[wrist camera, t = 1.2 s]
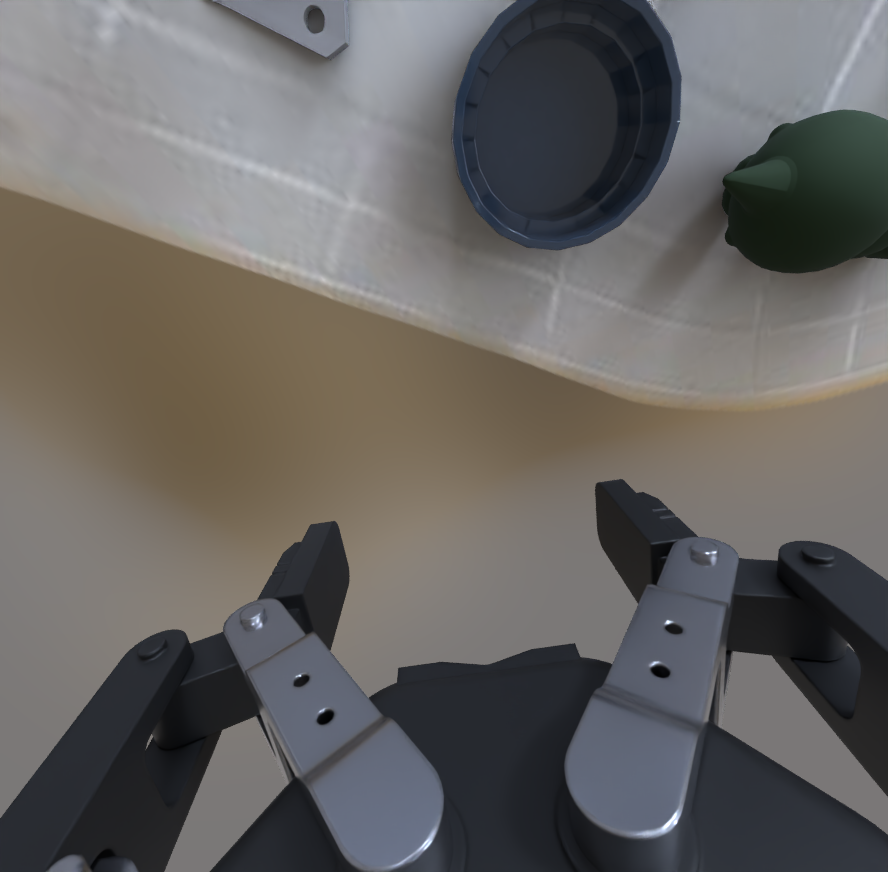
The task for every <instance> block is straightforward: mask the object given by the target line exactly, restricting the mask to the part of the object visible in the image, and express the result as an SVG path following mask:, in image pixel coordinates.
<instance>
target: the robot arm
mask: <svg viewBox="0 0 888 872" xmlns="http://www.w3.org/2000/svg"><path fill="white" fill-rule="evenodd" d="M595 488H596V489H595V495H596V513H597V531H598V536H599V540H600V543H601V546H602V548H603V550H604V551H605V553H606V554H607V556H608V558H609V559H610V561H611V562H612V564H613V565H614V567H615V569H616V570H617V572H618V573H619V575H620V576H621V578H622V579H623V581H624V583H625V584H626V586H627V587H628V589H629V590H630V592H631V593H632V595H633V596H634V598H635V600H636V601H637V603H638V606H637V609H636V611H635V613H634V615H633V618H632V620H631V623H630V625H629V627H628V629H627V632H626V634H625V636H624V638H623V641H622V643H621V646H620V648H619V650H618V653H617V655H616V657H615V659H614V662H613V664H611V663H607V662H604V661H600V660H596V659H590V658H582V657H580V655H579V653H578V650H577V648H576V645H575V643H574V644H567V645H559V646H553V647H545V648H538V649H531V650H528V651H525V652H523V653H520V654H517V655H515V656H512V657H509V658H506V659H503V660H501V661H498V662H495V663H492V664H489V665H477V664H463V663H449V662H437V663H430V664H423V665H416V666H408V667H401V668H398V678H397V683H395V684H393V685H390V686H388V687H386V688H384V689H382V690H380V691H378V692H377V693H375V694H374V695H372V696H371V697H369V698H368V697H367V696H366V695H365V693H364V692H363V691H362V690H361V688H360V687H359V686H358V685H357V683H356V682H355V681H354V680H353V679H352V677H351V676H350V675H349V674H348V672H347V671H346V670H345V669H344V668H343V666H342V665H341V664H340V663H339V661H338V660H337V659H336V658H335V656H334V655H333V654H332V653H331V652H330V650H331V647H332V643H333V640H334V636H335V632H336V629H337V625H338V622H339V618H340V615H341V611H342V607H343V604H344V600H345V597H346V593H347V589H348V586H349V566H348V562H347V558H346V554H345V550H344V546H343V542H342V538H341V534H340V530H339V527H338V524H337V523H336V522H335V521H331V522H325V523H318V524H311V525H310V526H309V528H308V530H307V532H306V534H305V536H304V538H303V540H302V542H297V543H294V544H293V545H292V546H291V547H290V548H289V549H287V550H286V551H285V552H284V553H283V554H282V556H281V558H280V560H279V562H278V563H277V566H276V567H275V569H274V571H273V572H272V575H271V576H270V578H269V580H268V581H267V583H266V585H265V587H264V589H263V590H262V592H261V594H260V596H259V598H258V599H257V600H256V601H253V602H250V603H248V604H246V605H244V606H242V607H241V608H239V609H238V610H236V611H235V612H234V613H233V614H231V616H229V618H228V619H227V620H226V622H225V624H224V627H223V632H221V633H219V634H216V635H214V636H210V637H208V638H205V639H202V640H199V641H196V642H194V643H191V644H190V643H189V640H188V638H187V635H186V633H185V632H184V631H181V630H167V631H163V632H160V633H157V634H155V635H152V636H150V637H148V638H146V639H145V640H143V641H141V642H140V643H138V644H137V645H135V646H134V647H133V648H132V649H130V650H129V651H128V652H127V653H126V654H125V656H124V657H123V658H122V659H121V661H120V662H119V663H118V665H117V666H116V667H115V669H114V670H113V671H112V673H111V674H110V675H109V676H108V678H107V679H106V680H105V682H104V683H103V684H102V686H101V687H100V688H99V690H98V691H97V692H96V694H95V695H94V696H93V698H92V699H91V700H90V702H89V703H88V704H87V705H86V707H85V708H84V709H83V711H82V712H81V713H80V715H79V716H78V717H77V719H76V720H75V721H74V722H73V724H72V725H71V726H70V728H69V729H68V730H67V732H66V733H65V734H64V736H63V737H62V738H61V739H60V741H59V742H58V744H57V745H56V746H55V747H54V749H53V750H52V751H51V753H50V754H49V756H48V757H47V758H46V759H45V761H44V762H43V763H42V764H41V766H40V767H39V768H38V770H37V771H36V772H35V774H34V775H33V776H32V778H31V779H30V780H29V781H28V783H27V784H26V785H25V787H24V788H23V789H22V791H21V792H20V794H19V795H18V796H17V797H16V799H15V800H14V801H13V803H12V804H11V805H10V806H9V808H8V809H7V810H6V812H5V813H4V814H3V816H2V817H1V818H0V872H164V871H165V868H166V866H167V864H168V861H169V859H170V856H171V854H172V851H173V849H174V847H175V844H176V842H177V839H178V837H179V834H180V832H181V830H182V827H183V825H184V822H185V820H186V817H187V815H188V813H189V810H190V807H191V805H192V803H193V800H194V798H195V795H196V793H197V791H198V788H199V786H200V783H201V781H202V778H203V776H204V774H205V771H206V769H207V766H208V764H209V761H210V759H211V757H212V754H213V751H214V749H215V747H216V744H217V741H218V740H219V737H220V735H221V732H222V730H223V729H226V728H228V727H231V726H233V725H235V724H238V723H240V722H243V721H245V720H247V719H250V718H252V717H254V716H255V717H256V720H257V722H258V724H259V726H260V728H261V731H262V732H263V735H264V737H265V739H266V741H267V743H268V745H269V747H270V750H271V752H272V754H273V756H274V758H275V760H276V762H277V764H278V767H279V768H280V771H281V773H282V775H283V778H284V780H285V782H286V785H287V786H286V787H285V788H284V789H283V790H282V792H281V793H280V794H279V795H278V796H277V797H276V798H275V799H274V800H273V802H272V803H271V804H270V805H269V806H268V807H267V808H266V809H265V810H264V812H263V813H262V814H261V815H260V816H259V817H258V818H257V819H256V821H255V822H254V823H253V824H252V825H251V826H250V827H249V828H248V829H247V831H246V832H245V833H244V834H243V835H242V836H241V837H240V838H239V839H238V841H237V842H236V843H235V844H234V845H233V846H232V847H231V849H230V850H229V851H228V852H227V853H226V854H225V855H224V856H223V857H222V858H221V860H220V861H219V862H218V863H217V864H216V866H214V867H213V869H212V870H211V871H210V872H888V835H887V834H886V833H885V832H884V831H882V830H881V829H880V828H878V827H877V826H876V825H875V824H873V823H872V822H870V821H869V820H867V819H866V818H864V817H863V816H861V815H860V814H858V813H857V812H856V811H854V810H852V809H851V808H849V807H847V806H846V805H844V804H843V803H841V802H839V801H838V800H836V799H835V798H833V797H831V796H830V795H828V794H826V793H825V792H823V791H822V790H820V789H818V788H817V787H815V786H814V785H812V784H810V783H809V782H807V781H805V780H804V779H802V778H801V777H799V776H797V775H796V774H794V773H793V772H791V771H789V770H788V769H786V768H785V767H783V766H781V765H780V764H778V763H776V762H775V761H773V760H771V759H770V758H768V757H767V756H765V755H764V754H762V753H760V752H759V751H757V750H755V749H754V748H752V747H751V746H749V745H747V744H746V743H744V742H742V741H741V740H739V739H738V738H736V737H735V736H733V735H731V734H730V733H728V732H726V731H725V730H723V729H722V722H723V714H724V707H725V701H726V695H727V689H728V683H729V677H730V670H731V664H732V658H733V651H737V652H745V653H755V654H763V655H772V656H773V658H774V659H775V660H776V662H777V663H778V664H779V665H780V667H781V668H782V669H783V670H784V671H785V673H786V674H787V675H788V676H789V677H790V679H791V680H792V681H793V682H794V683H795V685H796V686H797V687H798V688H799V689H800V691H801V692H802V693H803V694H804V696H805V697H806V698H807V699H808V701H809V702H810V703H811V704H812V705H813V707H814V708H815V709H816V710H817V711H818V713H819V714H820V715H821V716H822V718H823V719H824V720H825V721H826V722H827V723H828V725H829V726H830V727H831V728H832V730H833V731H834V732H835V733H836V735H837V736H838V737H839V738H840V739H841V741H842V742H843V743H844V744H845V745H846V747H847V748H848V749H849V750H850V752H851V753H852V754H853V755H854V756H855V757H856V759H857V760H858V761H859V762H860V764H861V765H862V766H863V767H864V769H865V770H866V771H867V772H868V773H869V775H870V776H871V777H872V778H873V779H874V780H875V782H876V783H877V784H878V785H879V787H880V788H881V789H882V790H883V792H884V793H885V794H886V795H887V796H888V581H887V580H886V579H884V578H883V577H882V576H880V575H879V574H877V573H876V572H874V571H873V570H872V569H870V568H869V567H867V566H866V565H865V564H863V563H862V562H860V561H859V560H857V559H856V558H855V557H853V556H852V555H850V554H849V553H847V552H845V551H843V550H841V549H839V548H837V547H834V546H831V545H828V544H823V543H818V542H812V541H811V542H810V541H794V542H789V543H786V544H784V545H782V546H781V547H780V549H779V554H778V561H774V560H773V561H772V560H754V559H742V558H739V556H738V553H737V552H736V551H735V550H734V549H733V548H732V547H731V546H729V545H727V544H726V543H724V542H721V541H718V540H715V539H711V538H705V537H698V536H697V535H696V534H695V533H694V532H693V531H692V530H690V528H688V527H687V526H686V525H685V524H684V523H683V522H682V521H681V520H680V519H679V518H678V517H676V516H675V514H674V513H673V512H672V511H671V510H668V508H667V507H666V506H665V505H664V504H663V503H662V502H661V501H660V500H659V499H658V498H655V497H653V496H651V495H649V494H646V493H644V492H641V493H636V492H635V491H634V490H633V489H632V488H631V487H630V486H629V485H628V484H627V483H626V482H625V481H624V480H623V479H619V480H612V481H605V482H599V483H597V484H596V487H595ZM848 643H849V644H850V646H851V647H852V648H853V649H854V651H855V652H854V651H853V650H852V649H851V648H850V647H848V646H847V644H848ZM151 734H152V735H153V738H152V740H151V742H150V744H149V745H148V747H147V749H146V746H147V742H148V740H149V738H150V736H151ZM145 750H146V751H145Z"/></svg>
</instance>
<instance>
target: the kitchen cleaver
mask: <svg viewBox="0 0 888 872" xmlns="http://www.w3.org/2000/svg"><path fill="white" fill-rule="evenodd" d="M211 1H214V2H216V3H219V4H221V5H224V6H226V7H228V8H230V9H232V10H234V11H236V12H238V13H239V14H241V15H243V16H245V17H247V18H249V19H251V20H253V21H255V22H257V23H259V24H261V25H263V26H265V27H267V28H269V29H271V30H273V31H275V32H277V33H279V34H280V35H282V36H284V37H286V38H288V39H290V40H292V41H294V42H296V43H298V44H300V45H302V46H304V47H306V48H308V49H310V50H312V51H314V52H316V53H318V54H320V55H322V56H323V57H325V58H327V59H329V60H332V59H333V58H334V57H335V56H337V55H338V54H339V53H340V52H341V51H343V50H344V49H345V48H346V47H348V46H349V25H348V0H211ZM314 8H318V9H321V10H322V12H323V14H324V17H325V25H324V28H323V30H322V31H321V32H320V33H318V34H313V33H311V31H310V30H309V28H308V25H307V16H308V14H309V12H310V11H311V10H312V9H314Z"/></svg>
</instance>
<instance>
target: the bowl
mask: <svg viewBox="0 0 888 872" xmlns="http://www.w3.org/2000/svg"><path fill="white" fill-rule="evenodd" d="M681 77H682V76H681V72H680V68H679V65H678V61H677V57H676V53H675V49H674V45H673V41H672V37H671V35H670V33H669V32H668V30H667V29H666V27H665V26H664V24H663V23H662V21H661V20H660V19H659V17H658V16H657V14H656V13H655V11H654V10H653V8H652V7H651V5H650V4H649V2H647V0H517V1H516V2H515V3H513V4H512V5H511V6H509V7H508V8H507V9H506V10H504V11H503V12H502V13H500V14H499V16H497V18H496V19H495V21H494V22H493V23H492V25H491V26H490V28H489V29H488V31H487V32H486V33H485V35H484V36H483V38H482V39H481V41H480V42H479V44H478V45H477V46H476V48H475V49H474V51H473V52H472V54H471V56H470V59H469V62H468V65H467V68H466V71H465V73H464V76H463V79H462V82H461V85H460V88H459V90H458V93H457V96H456V99H455V103H454V112H453V125H452V137H451V140H452V147H453V153H454V158H455V163H456V169H457V174H458V177H459V179H460V181H461V183H462V185H463V187H464V189H465V191H466V193H467V195H468V196H469V198H470V200H471V202H472V204H473V206H474V208H475V210H476V212H477V213H478V214H479V215H480V216H481V217H482V218H483V219H484V220H485V221H486V222H487V223H488V224H489V225H490V226H491V227H492V228H493V229H494V230H495V231H496V232H497V233H498V234H500V235H501V236H504V237H506V238H508V239H510V240H512V241H514V242H516V243H519V244H521V245H523V246H525V247H528V248H537V249H548V250H562V249H566V248H571V247H575V246H579V245H583V244H587V243H589V242H590V243H591V242H592V241H594V240H596V239H597V238H599V237H601V236H603V235H604V234H606V233H608V232H609V231H611V230H613V229H614V228H616V227H618V226H619V225H620V224H622V223H623V222H624V221H625V220H626V219H627V218H628V217H629V215H630V214H631V213H632V212H633V211H634V210H635V209H636V208H637V207H638V206H639V205H640V204H641V203H642V202H643V201H644V200H645V199H646V198H647V197H648V195H649V193H650V192H651V190H652V188H653V187H654V185H655V183H656V181H657V180H658V178H659V176H660V175H661V173H662V171H663V170H664V168H665V166H666V164H667V162H668V160H669V157H670V153H671V150H672V147H673V143H674V140H675V137H676V133H677V130H678V127H679V123H680V107H681V81H682V79H681Z"/></svg>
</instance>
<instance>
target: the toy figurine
mask: <svg viewBox="0 0 888 872" xmlns="http://www.w3.org/2000/svg"><path fill="white" fill-rule="evenodd" d="M722 182H723V185H724V187H725V191H724V193H723V200H722V206H723V209H724V212H725V213H726V214H727V215H728V228H727V231H726V233H725V240H726V242H727V243H728V244H729V245H731V246H735V247H736V248H737V249H738V250H739V251H740V252H741V253H742V254H743V255H744V256H745V257H746V258H747V259H749V260H750V261H751V262H753V263H754V264H756V265H758V266H760V267H761V268H765V269H768V270H771V271H777V272H782V273H806V272H814V271H820V270H823V269H826V268H830V267H833V266H836V265H838V264H840V263H842V262H844V261H847V260H849V259H853V258H860V257H864V256H865V257H867V258H881V259H888V120H886V119H884V118H881V117H879V116H876V115H874V114H871V113H867V112H862V111H856V110H837V111H831V112H827V113H823V114H819V115H815V116H812V117H809V118H806V119H804V120H801V121H799V122H796V123H794V124H791V123H786V124H782V125H780V126H778V127H777V128H775V129H774V130H773V131H772V133H771V134H770V136H769V138H768V141H767V142H766V143H765V144H764V145H763V146H762V147H761V148H760V149H759V151H758V152H757V153H756V154H754V155H751V156H748V157H747V158H746V159H744V160H743V161H741V162H740V163H739V165H738V166H737V167H736V169H735V170H734V171H733V172H732V173H730V174H728V175H726V176H725V177H724V178H723V181H722Z"/></svg>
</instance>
